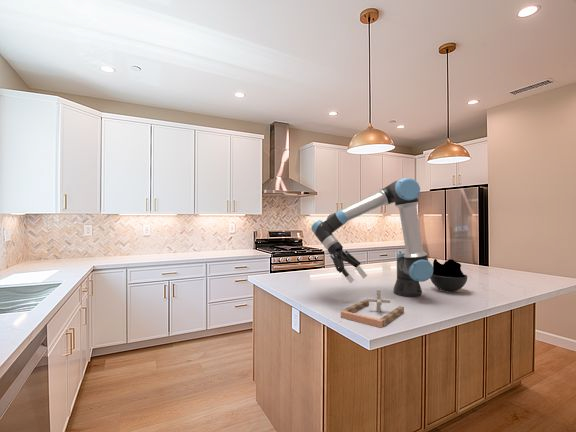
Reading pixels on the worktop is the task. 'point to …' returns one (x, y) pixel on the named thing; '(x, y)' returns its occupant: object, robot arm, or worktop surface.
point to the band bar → (362, 319)
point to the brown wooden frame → (386, 318)
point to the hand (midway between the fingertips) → (359, 279)
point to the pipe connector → (378, 300)
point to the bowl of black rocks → (448, 275)
